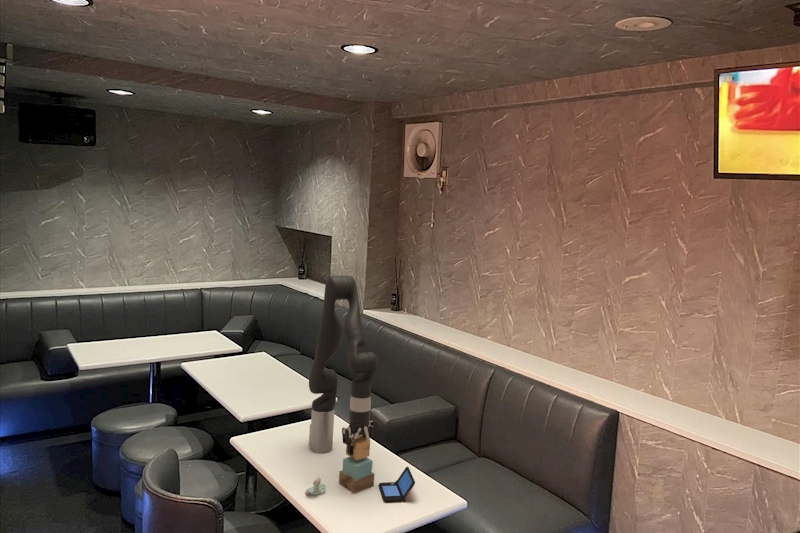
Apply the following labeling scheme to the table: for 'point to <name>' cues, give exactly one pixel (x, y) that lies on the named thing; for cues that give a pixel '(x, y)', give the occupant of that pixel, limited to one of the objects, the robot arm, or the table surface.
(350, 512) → the table surface
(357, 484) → the bottom block
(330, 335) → the robot arm
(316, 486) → the pacifier
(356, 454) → the oak cube
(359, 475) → the top block
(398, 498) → the handheld game console
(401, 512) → the table surface
